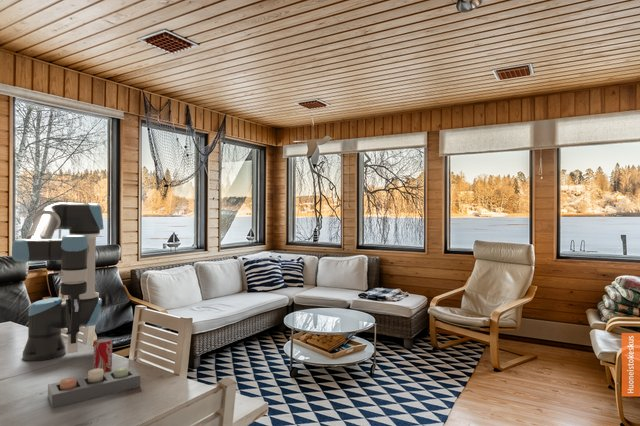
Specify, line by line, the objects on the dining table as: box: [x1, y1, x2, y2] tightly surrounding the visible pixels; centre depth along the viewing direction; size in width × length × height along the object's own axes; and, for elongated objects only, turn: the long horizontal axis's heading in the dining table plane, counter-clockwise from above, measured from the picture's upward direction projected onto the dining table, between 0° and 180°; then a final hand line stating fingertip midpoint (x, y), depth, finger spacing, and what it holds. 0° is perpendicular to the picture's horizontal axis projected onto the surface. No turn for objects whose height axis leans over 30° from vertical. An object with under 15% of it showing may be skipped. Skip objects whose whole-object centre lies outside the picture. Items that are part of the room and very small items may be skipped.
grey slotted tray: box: [47, 366, 141, 409], centre depth 139 cm, size 10×26×4 cm, turn 130°
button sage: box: [113, 366, 129, 379], centre depth 144 cm, size 5×5×3 cm
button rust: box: [59, 377, 77, 391], centre depth 134 cm, size 5×5×3 cm
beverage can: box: [92, 337, 113, 373], centre depth 157 cm, size 6×6×12 cm
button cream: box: [87, 368, 104, 383], centre depth 139 cm, size 5×5×3 cm
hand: (72, 351), depth 137 cm, fingers closed
